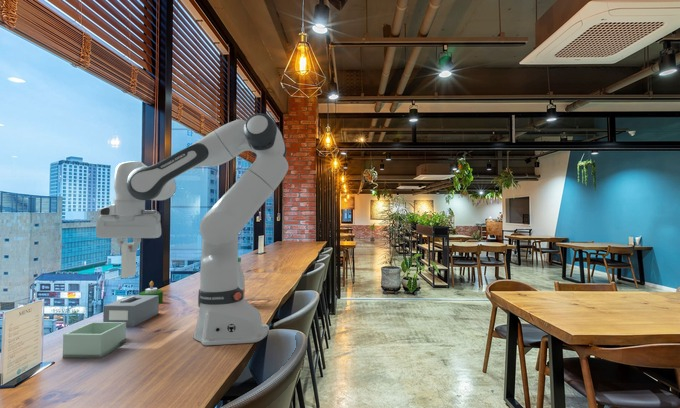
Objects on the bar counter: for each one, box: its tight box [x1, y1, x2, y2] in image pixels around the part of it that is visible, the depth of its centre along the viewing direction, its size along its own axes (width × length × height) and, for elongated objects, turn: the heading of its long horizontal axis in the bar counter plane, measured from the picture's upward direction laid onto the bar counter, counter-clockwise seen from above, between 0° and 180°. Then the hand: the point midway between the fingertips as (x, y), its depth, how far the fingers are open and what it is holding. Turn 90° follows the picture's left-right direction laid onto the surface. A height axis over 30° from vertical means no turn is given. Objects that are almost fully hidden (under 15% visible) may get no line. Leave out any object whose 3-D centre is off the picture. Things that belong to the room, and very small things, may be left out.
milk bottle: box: [238, 256, 246, 300], centre depth 135 cm, size 8×8×20 cm
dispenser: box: [102, 294, 160, 328], centre depth 114 cm, size 10×14×9 cm
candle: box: [139, 280, 164, 305], centre depth 138 cm, size 8×8×10 cm
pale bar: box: [120, 242, 137, 279], centre depth 111 cm, size 2×5×11 cm, turn 178°
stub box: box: [62, 321, 127, 359], centre depth 92 cm, size 10×10×6 cm
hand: (128, 251), depth 111 cm, fingers closed on pale bar, 2 cm apart
